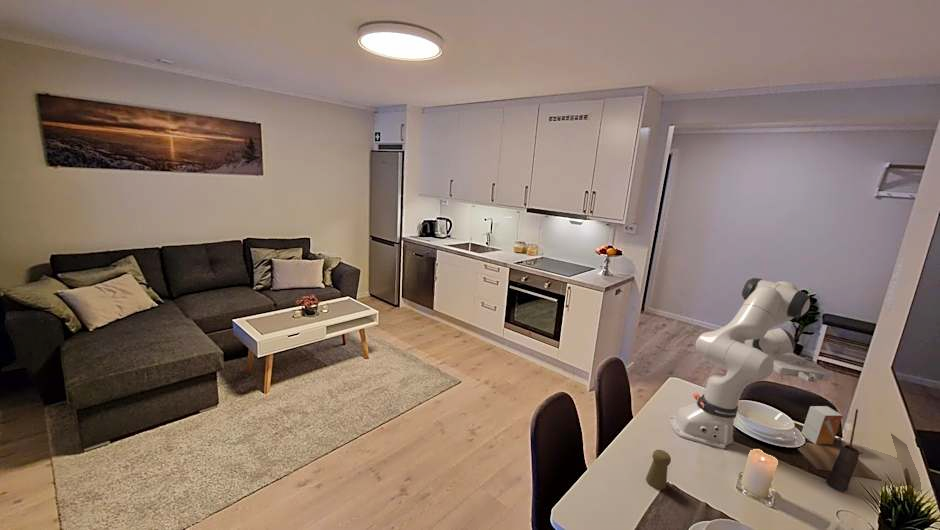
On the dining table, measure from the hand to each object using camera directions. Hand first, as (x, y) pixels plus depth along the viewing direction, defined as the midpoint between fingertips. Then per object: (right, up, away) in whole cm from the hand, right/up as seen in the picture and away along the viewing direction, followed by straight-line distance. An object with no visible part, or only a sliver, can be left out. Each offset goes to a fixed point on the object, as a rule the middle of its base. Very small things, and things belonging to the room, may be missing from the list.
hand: (812, 380), depth 164 cm
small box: (-4, -22, -6) cm, 23 cm away
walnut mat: (-8, -24, -17) cm, 31 cm away
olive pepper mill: (-81, -23, -36) cm, 92 cm away
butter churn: (-18, -27, -32) cm, 45 cm away
